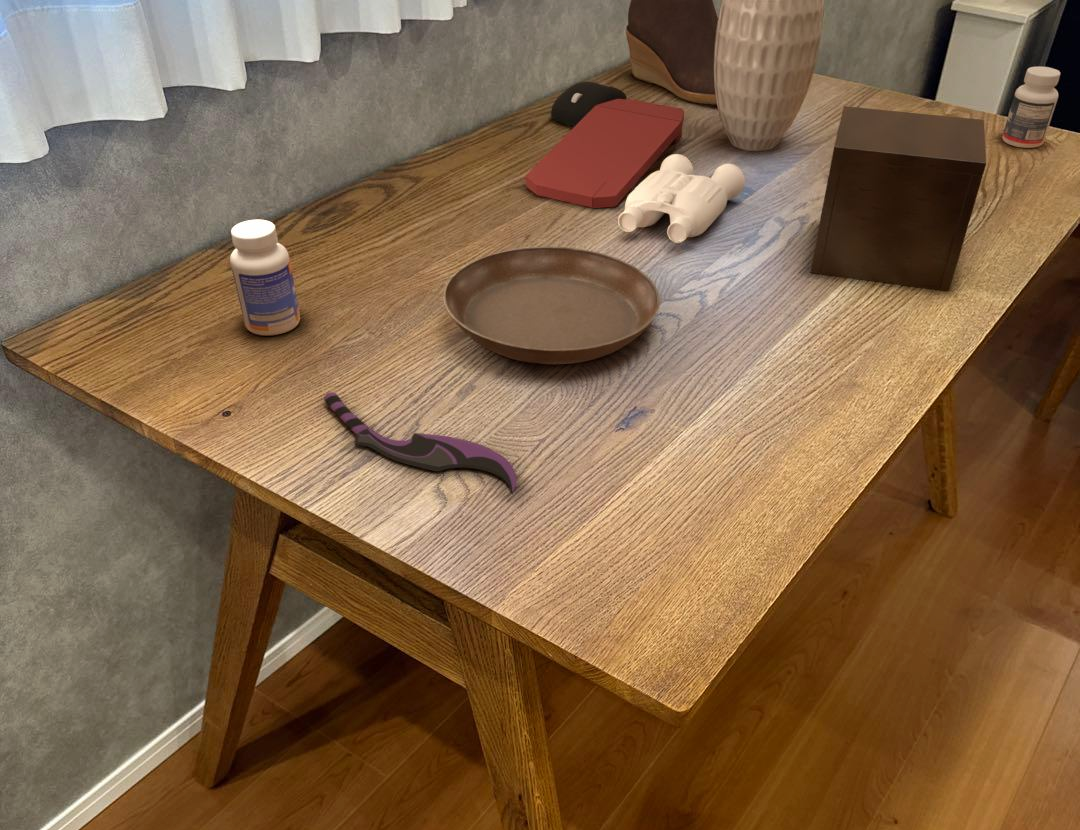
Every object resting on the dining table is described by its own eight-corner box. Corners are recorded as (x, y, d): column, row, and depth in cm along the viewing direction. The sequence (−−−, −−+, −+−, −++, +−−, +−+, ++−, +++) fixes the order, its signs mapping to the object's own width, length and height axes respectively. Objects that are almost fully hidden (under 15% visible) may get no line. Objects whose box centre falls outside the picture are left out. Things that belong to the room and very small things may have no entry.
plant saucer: (624, 264, 108) (626, 235, 106) (686, 366, 93) (689, 334, 91) (432, 284, 105) (429, 254, 103) (463, 392, 90) (461, 360, 88)
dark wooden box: (949, 241, 112) (984, 119, 104) (949, 291, 104) (986, 163, 95) (821, 225, 116) (843, 105, 107) (810, 272, 107) (834, 146, 98)
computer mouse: (639, 110, 144) (641, 80, 141) (586, 133, 137) (586, 102, 134) (598, 98, 148) (599, 69, 145) (544, 120, 141) (544, 90, 138)
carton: (611, 238, 121) (695, 139, 135) (610, 201, 117) (697, 103, 131) (523, 217, 125) (613, 123, 139) (519, 181, 122) (612, 88, 135)
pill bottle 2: (1008, 131, 138) (1029, 61, 132) (1048, 139, 135) (1071, 69, 129) (996, 143, 134) (1016, 72, 128) (1036, 152, 132) (1059, 80, 126)
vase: (684, 142, 135) (707, -108, 116) (746, 119, 141) (777, -121, 123) (760, 169, 128) (798, -91, 109) (821, 144, 134) (867, -106, 115)
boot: (740, 118, 141) (761, -45, 128) (607, 79, 154) (613, -73, 140) (775, 102, 146) (798, -57, 133) (643, 66, 159) (652, -82, 145)
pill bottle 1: (311, 323, 99) (296, 228, 93) (264, 343, 96) (244, 247, 90) (280, 303, 102) (263, 210, 96) (233, 322, 99) (212, 228, 93)
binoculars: (743, 201, 120) (748, 162, 117) (695, 256, 110) (699, 214, 107) (661, 185, 124) (664, 147, 121) (606, 236, 113) (608, 195, 110)
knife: (331, 396, 89) (295, 427, 86) (329, 388, 89) (293, 420, 86) (537, 467, 82) (506, 504, 79) (536, 459, 81) (505, 496, 78)
